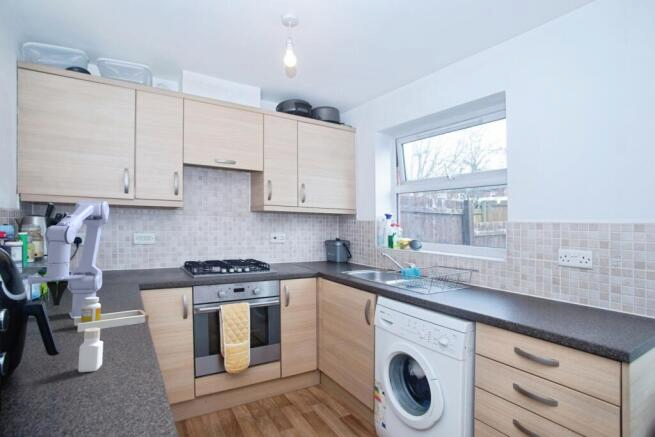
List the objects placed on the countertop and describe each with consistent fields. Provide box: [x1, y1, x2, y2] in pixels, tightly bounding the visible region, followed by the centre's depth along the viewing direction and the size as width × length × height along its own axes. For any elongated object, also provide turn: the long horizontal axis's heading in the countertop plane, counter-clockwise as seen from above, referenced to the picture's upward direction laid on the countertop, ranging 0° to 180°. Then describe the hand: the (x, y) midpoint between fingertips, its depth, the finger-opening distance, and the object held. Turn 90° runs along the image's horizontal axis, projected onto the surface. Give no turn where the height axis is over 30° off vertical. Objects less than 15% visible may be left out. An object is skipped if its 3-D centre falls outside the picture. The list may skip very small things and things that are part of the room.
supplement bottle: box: [81, 296, 102, 323], centre depth 115 cm, size 5×5×10 cm
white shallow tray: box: [73, 309, 150, 333], centre depth 119 cm, size 10×21×2 cm, turn 132°
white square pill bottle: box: [77, 328, 104, 373], centre depth 81 cm, size 4×4×10 cm
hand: (56, 305), depth 109 cm, fingers closed
